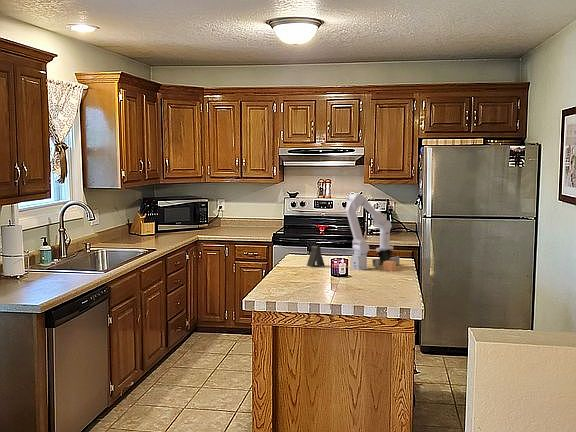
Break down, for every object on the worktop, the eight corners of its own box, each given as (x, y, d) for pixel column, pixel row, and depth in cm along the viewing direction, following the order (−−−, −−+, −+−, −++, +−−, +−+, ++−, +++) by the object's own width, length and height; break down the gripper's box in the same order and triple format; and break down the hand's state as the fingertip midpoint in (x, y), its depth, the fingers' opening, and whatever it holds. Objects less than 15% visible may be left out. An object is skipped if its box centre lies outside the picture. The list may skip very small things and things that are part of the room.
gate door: (373, 266, 369) (373, 259, 369) (372, 266, 370) (372, 259, 370) (392, 264, 375) (392, 258, 375) (391, 264, 376) (391, 257, 376)
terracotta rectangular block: (391, 271, 356) (391, 262, 355) (383, 269, 360) (383, 261, 359) (395, 270, 358) (396, 261, 358) (387, 269, 363) (387, 260, 362)
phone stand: (312, 267, 367) (312, 247, 366) (306, 265, 372) (306, 246, 372) (324, 266, 372) (324, 246, 371) (319, 264, 377) (319, 245, 376)
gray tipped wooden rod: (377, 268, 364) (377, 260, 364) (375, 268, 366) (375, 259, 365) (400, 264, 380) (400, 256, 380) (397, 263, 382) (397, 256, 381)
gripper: (382, 241, 361) (382, 264, 362) (397, 239, 371) (397, 262, 372) (373, 240, 366) (373, 263, 367) (388, 238, 376) (387, 260, 377)
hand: (384, 262), depth 370 cm, fingers open, 3 cm apart
